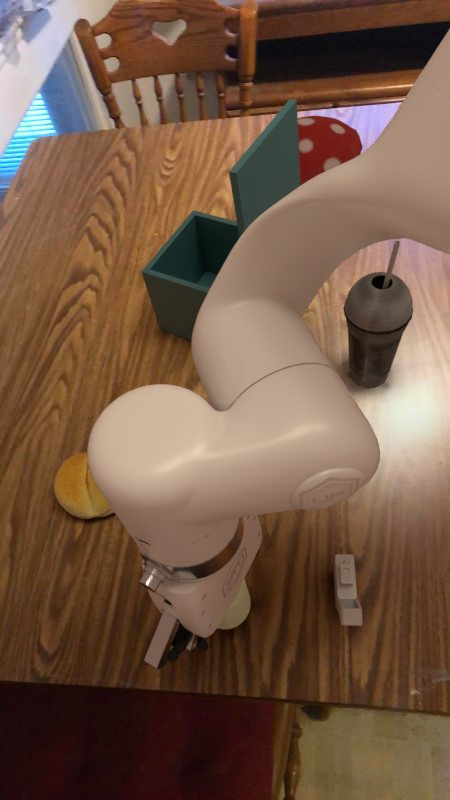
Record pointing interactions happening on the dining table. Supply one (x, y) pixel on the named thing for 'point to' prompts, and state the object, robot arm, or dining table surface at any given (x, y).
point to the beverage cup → (376, 323)
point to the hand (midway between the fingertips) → (219, 592)
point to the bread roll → (79, 489)
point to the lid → (267, 168)
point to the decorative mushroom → (325, 145)
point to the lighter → (346, 590)
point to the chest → (188, 270)
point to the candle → (237, 608)
